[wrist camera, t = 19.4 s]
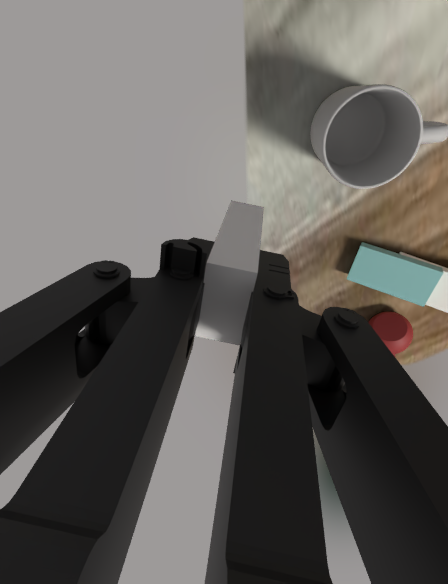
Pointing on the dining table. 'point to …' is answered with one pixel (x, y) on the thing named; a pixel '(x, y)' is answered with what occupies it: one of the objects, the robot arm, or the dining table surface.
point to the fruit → (393, 330)
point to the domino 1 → (394, 274)
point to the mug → (370, 134)
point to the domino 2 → (437, 288)
